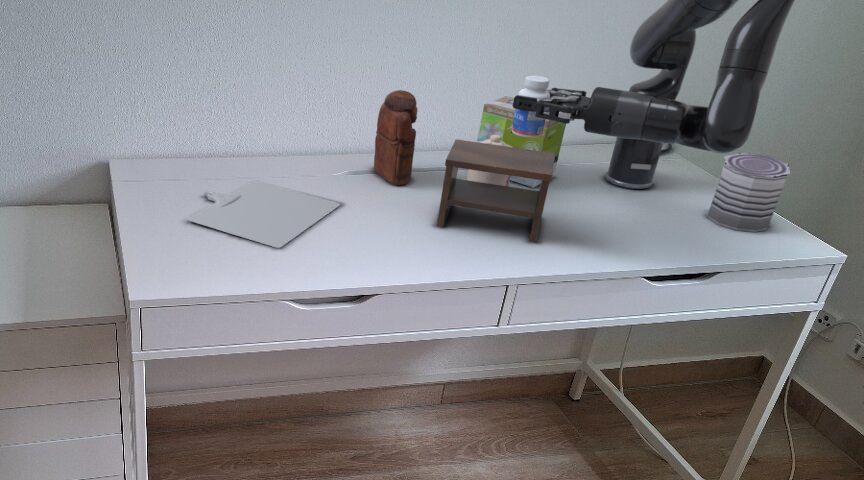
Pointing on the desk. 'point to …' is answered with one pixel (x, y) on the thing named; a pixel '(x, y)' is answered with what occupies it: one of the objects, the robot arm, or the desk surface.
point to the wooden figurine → (396, 137)
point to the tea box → (500, 123)
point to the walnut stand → (491, 194)
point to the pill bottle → (526, 120)
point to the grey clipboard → (263, 213)
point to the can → (748, 191)
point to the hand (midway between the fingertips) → (518, 97)
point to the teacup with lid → (487, 176)
